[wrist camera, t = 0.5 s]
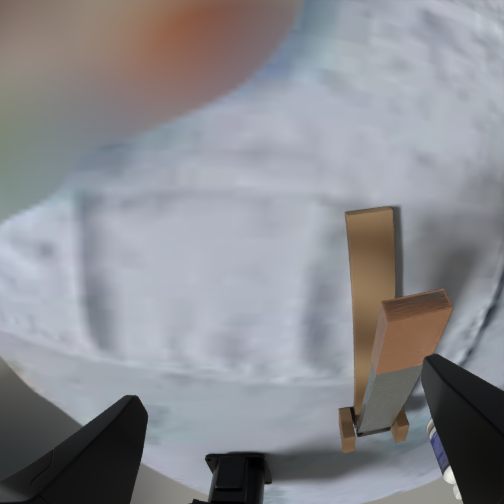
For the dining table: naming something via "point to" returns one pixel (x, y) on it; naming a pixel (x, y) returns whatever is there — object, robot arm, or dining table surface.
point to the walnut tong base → (368, 304)
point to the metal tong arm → (400, 355)
